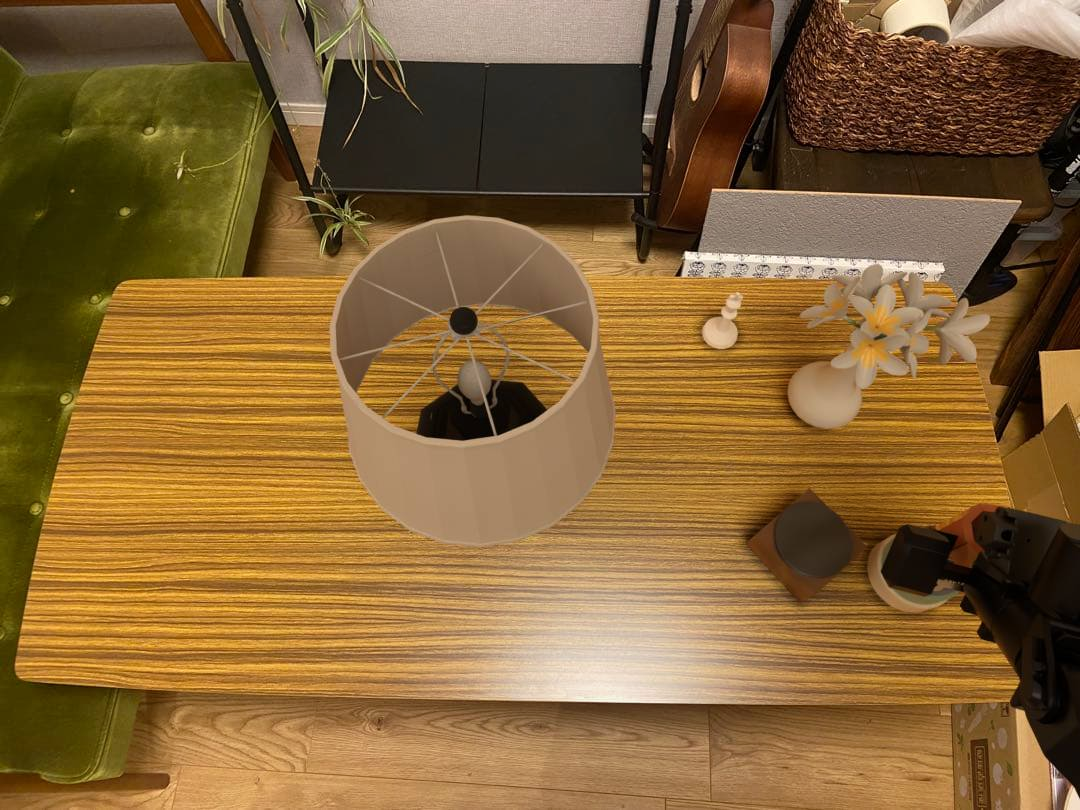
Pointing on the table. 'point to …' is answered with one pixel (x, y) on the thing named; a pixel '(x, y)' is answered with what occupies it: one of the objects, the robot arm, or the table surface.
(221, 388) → the table surface
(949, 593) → the disc stack
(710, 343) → the chess piece
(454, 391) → the table lamp
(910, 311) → the flower vase
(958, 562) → the terracotta octagonal pot
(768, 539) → the coaster stand
